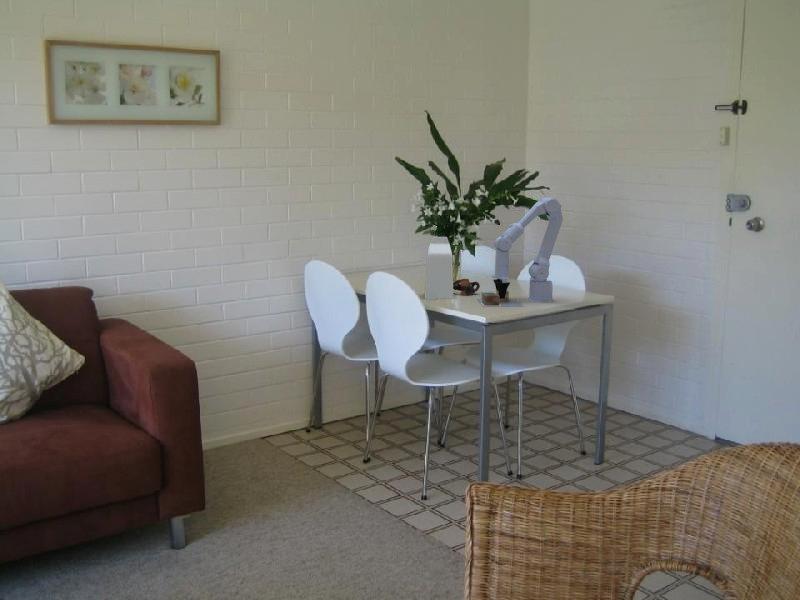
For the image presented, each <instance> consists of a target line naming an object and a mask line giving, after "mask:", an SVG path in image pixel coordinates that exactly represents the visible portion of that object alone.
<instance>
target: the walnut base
mask: <svg viewBox="0 0 800 600" xmlns="http://www.w3.org/2000/svg"><path fill="white" fill-rule="evenodd" d="M481 294H482V303H483V304H484V305H485V306H499V297H500V296H499V295H498V294H497V293H495V292H494V293H482V292H481Z"/></svg>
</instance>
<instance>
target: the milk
mask: <svg viewBox="0 0 800 600" xmlns="http://www.w3.org/2000/svg"><path fill="white" fill-rule="evenodd" d="M425 265H426V267H425V282H424V284H425V285H424V300H439V299H451V300H452V299H454V289H453V283H454V273H453V272H454V271H453V253H452V249H451V244H450V241H449V239H448V237H447V236H433V237H432V238H431V241H430V243H429V246H428V248H427V253H426V264H425Z"/></svg>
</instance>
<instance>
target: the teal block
mask: <svg viewBox="0 0 800 600" xmlns="http://www.w3.org/2000/svg"><path fill="white" fill-rule="evenodd" d="M482 293H495V292H494V291H493V290H481V298H480V299H481V300H482Z"/></svg>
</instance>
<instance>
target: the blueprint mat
mask: <svg viewBox="0 0 800 600" xmlns="http://www.w3.org/2000/svg"><path fill="white" fill-rule="evenodd" d="M476 301H477V302H478V303H479V304H480V305H481V306H482V307H483V308H525V306H524V305H523V303H521V302H520V301H518V300H517V299H514V298H513V299H512V298H511V299H510V298H509V302H499V306H485V305H484V304H483V303H482V300H481V298H480V299H476Z"/></svg>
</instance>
